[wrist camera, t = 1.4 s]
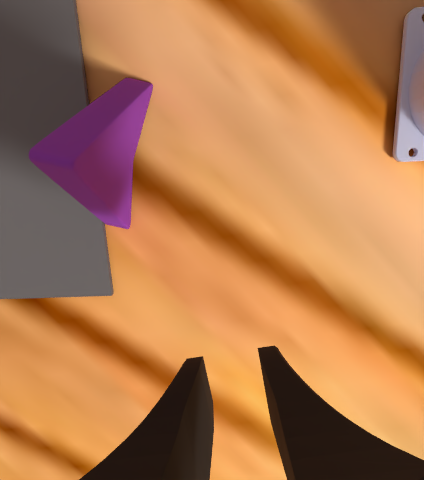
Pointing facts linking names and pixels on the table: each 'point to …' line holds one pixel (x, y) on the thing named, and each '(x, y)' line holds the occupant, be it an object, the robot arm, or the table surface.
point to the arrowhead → (98, 151)
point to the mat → (28, 174)
